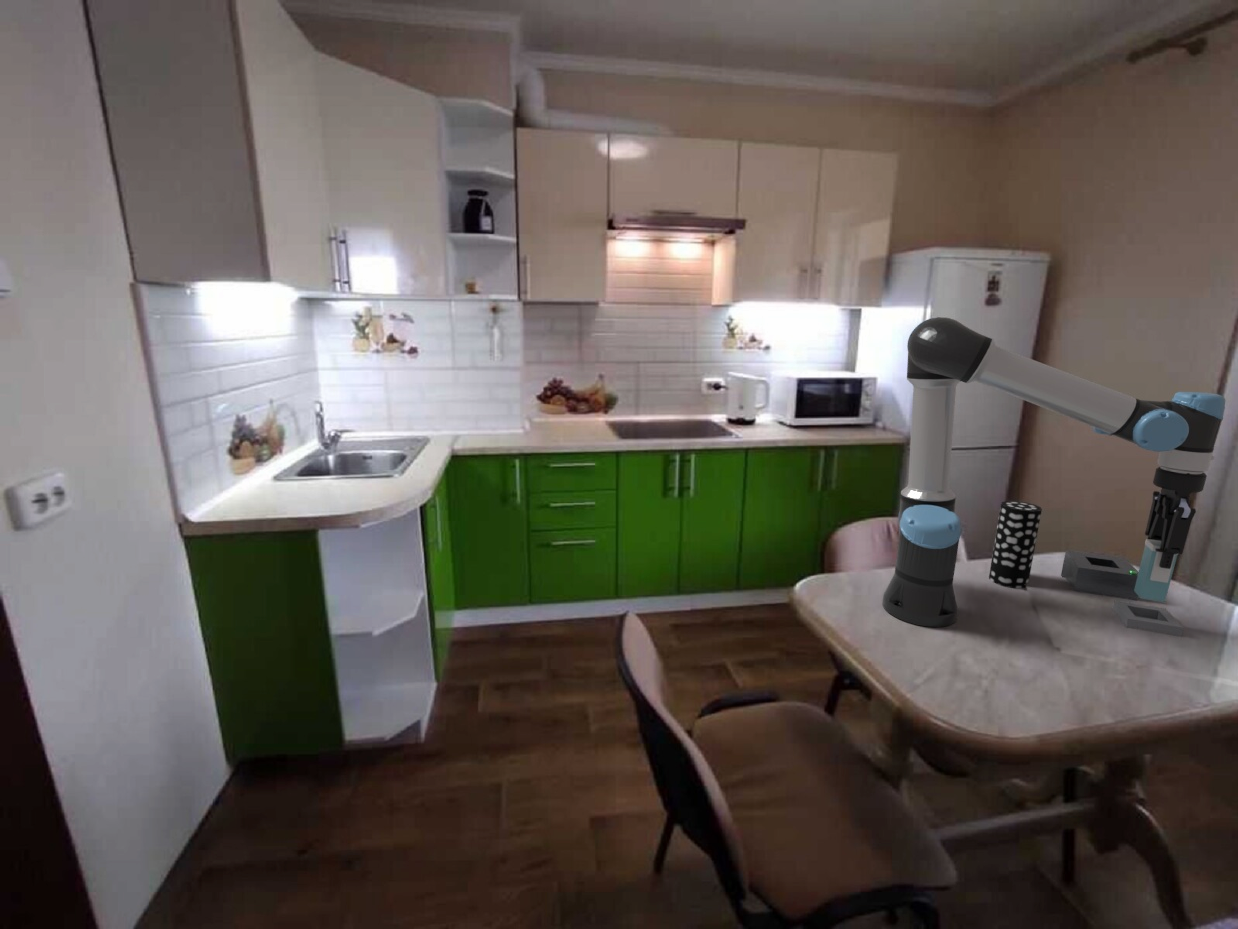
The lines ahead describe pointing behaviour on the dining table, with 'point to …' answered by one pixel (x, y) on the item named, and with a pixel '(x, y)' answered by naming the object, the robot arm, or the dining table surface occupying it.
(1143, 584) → the plug
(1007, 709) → the dining table surface
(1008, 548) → the spotted tube
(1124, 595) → the port
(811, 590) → the dining table surface
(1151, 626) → the square frame socket
